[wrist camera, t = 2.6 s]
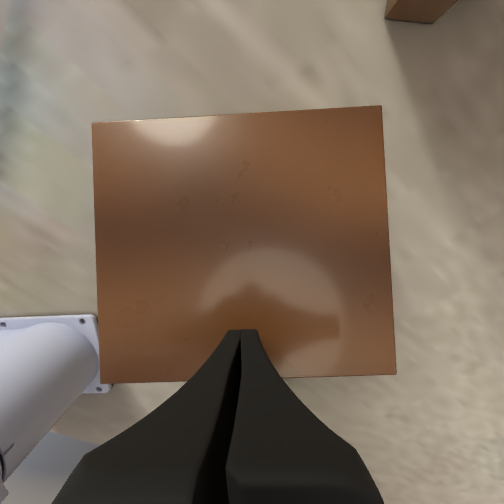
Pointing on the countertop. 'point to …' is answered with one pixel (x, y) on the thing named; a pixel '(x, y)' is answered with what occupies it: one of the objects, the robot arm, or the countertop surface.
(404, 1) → the wooden toy
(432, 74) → the countertop surface
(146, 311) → the lid
